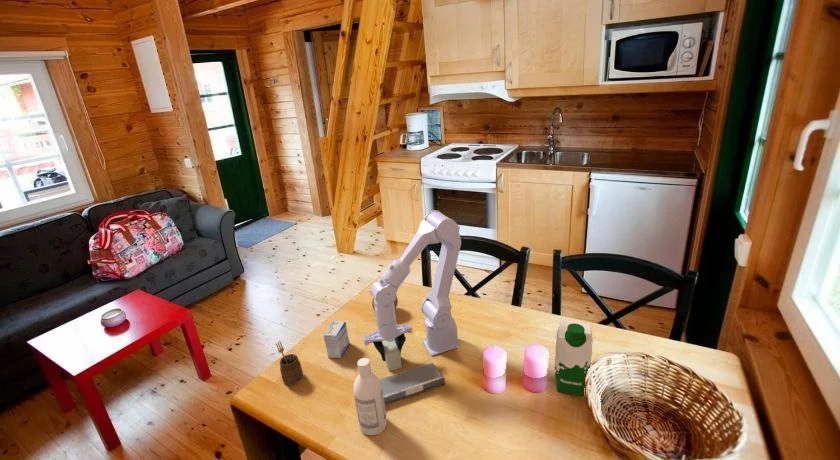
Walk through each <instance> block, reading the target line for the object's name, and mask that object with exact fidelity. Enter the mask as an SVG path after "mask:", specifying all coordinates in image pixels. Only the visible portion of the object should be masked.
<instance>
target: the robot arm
mask: <svg viewBox="0 0 840 460" xmlns="http://www.w3.org/2000/svg"><path fill="white" fill-rule="evenodd" d="M460 228H461V227H460V226H459V224H458V223H457V222H456V221H455V220H454V219H452V218H450V217H448V216H446V215H445V214H443V213H442V212H441V211H440V210H435V209H434V210H431V211H429V212H428V213H426V214H425V216H424V218H423V219H422V220H421V221H420V223H419V226H418V229H417V231H416V232H415V235H414V236H413V237H412V239H411V241H410V243H409V244H408V245H407V247H406V249H405V250H404V251H403V254H402V255H401V256H400V258H397V259H393V261H392V262H389V263H388V265H387V269H386V270H385V272H384V274H383V275H382V276H381V277H380V278H379V279H377V280H376V281H375V282H374V283H372V285H371V286H370V290H369V293H370V295H371V296H372V297H374V304H375V311H374V315H375V318H376V327H377V329H376V330H375V331H374V332H372V333H370V334H368V335H365V336H363V343H364V345H365V346H366V347H367V346H369V345H370V344H373V346H374V347H375V349H376V350H377V352H378V353H379V354H380V357H381V360H382V362H385V355H384V345H383V343H382V341H388V342H392V341H395V343H396V345H397V347H398V349H399V351H400V356H401V353H402V349H403V346H404V345H405V343H406V340H407V339H406V336H405V334H407V333H408V334H412V333H413V327H412V325H411V323H408V324H398V325H397V323H398V322H397V316H396V315H397V314H396V309H395V306H394V301H395V300H396V296H397V293H398V291H399V289H400V287H401V285H402V284H403V282H404V281H405V280H406V278H407V277H408V275H410V273H411V265H412V264H413V263H414V262H415V260H416V259H417V258H418V257H419V255H421V253H422V251H423V250H424V249H425V248H426V247H427V246H428V245H434V244H439V243H441V248H440V252H439V256H438V261H437V265H436V268H435V269H436V270H435V274H434V278H433V283H432V287H431V291H429V292H428V293H426V296H425V297H424V300H423V302H422V303H421V305H420V310H421V312H422V314H423V315H424V316H425V320H424V322H425V323H424V325H425V331H426V332H425V335H426V336H425V337H426V339H423V340H422V343H423V345H424V347H425V348H426V349H427V351H428V352H429V354H430V356H435V355H439V354H442V353H445V352H447V351H452V350H455V349H459V347H460V345H459V342H458V341H459V339H458V326H457V324H456V323H457V322H456V321H455V319H454V318H453V316H452V304H451V300H450V297H449V296H450V292H451V287H452V283H453V279H454V275H455V272H456V268H457V263H458V258H459V253H460V250H461V246H462V238H461V235H460ZM397 297H398V296H397Z"/></svg>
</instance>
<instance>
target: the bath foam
mask: <svg viewBox="0 0 840 460" xmlns="http://www.w3.org/2000/svg"><path fill="white" fill-rule="evenodd" d="M356 365H357V370H358V375H357V376H356V379H355V381H354V384H353V396H354V403H355V409H356V415H357V419H358V425H359V429H360V431H361V432H362V433H363V434H365V435H367V436H376V435H378V434H381V432H384V430H385V429H386V427H387V423H388V419H387V411H386V405H385V403H384V396H383V389H382V384H381V382H380V380H379V379H380V378H379V377H378V375H376V374H375V373H374V372H373V371H372V367H371V361H370V359H369V358H367V357H362V358H360V359H358V361H357V364H356Z"/></svg>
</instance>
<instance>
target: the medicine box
mask: <svg viewBox="0 0 840 460" xmlns="http://www.w3.org/2000/svg"><path fill="white" fill-rule="evenodd" d="M323 339H324V345H325V348H326V353H327V357H328V358H334V359H341V358H342V357H343V355H344V353H345V351H346V349H347V348H348V346H349V344H350V338H349V333H348V328H347V322H346V321H341V320H333V321H332V323H331V325H330V326H329V328H327V330H326V332H325V333H324V335H323Z"/></svg>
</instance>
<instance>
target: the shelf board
mask: <svg viewBox="0 0 840 460" xmlns="http://www.w3.org/2000/svg"><path fill="white" fill-rule="evenodd" d="M379 380H380V382H381V384H382V389H383V396H384V403H385V406H386V405H388V404H389V405H390V404H392V403H394V402H397V401H401V400H403V399H406V398H409V397H413V396H415V395H418V394H420V393H423V392H428V391H430V390H433V389H435V388H439V387H442V386H445V385H446V381H445V380H446V379H445V376H444V375H442V376H441V374H440V372H439V371H438V369H437V368H436V365H435V364H434V362H430V363H426V364H423V365H420V366H417V367H415V368H411V369H408V370H405V371H402V372H399V373H394V374H392V375H389V376H386V377H384V378H379Z"/></svg>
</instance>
